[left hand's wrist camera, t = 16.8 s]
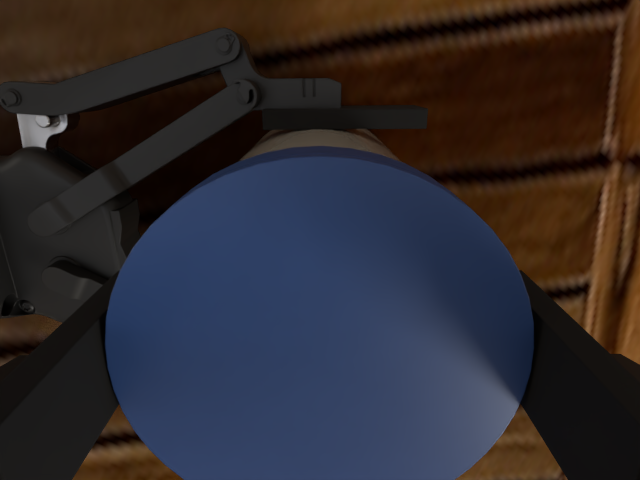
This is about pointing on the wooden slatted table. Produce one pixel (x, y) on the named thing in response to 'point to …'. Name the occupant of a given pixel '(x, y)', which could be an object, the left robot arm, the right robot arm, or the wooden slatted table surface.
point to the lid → (319, 325)
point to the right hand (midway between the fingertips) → (411, 234)
